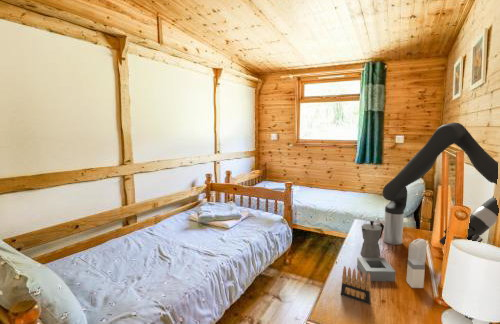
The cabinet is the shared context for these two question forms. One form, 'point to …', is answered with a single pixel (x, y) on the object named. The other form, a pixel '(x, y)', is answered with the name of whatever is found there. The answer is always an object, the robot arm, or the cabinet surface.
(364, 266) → the socket holder
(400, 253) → the cabinet surface
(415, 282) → the connector plug
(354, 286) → the ammunition clip
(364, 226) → the coffeepot
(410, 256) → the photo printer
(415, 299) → the cabinet surface
